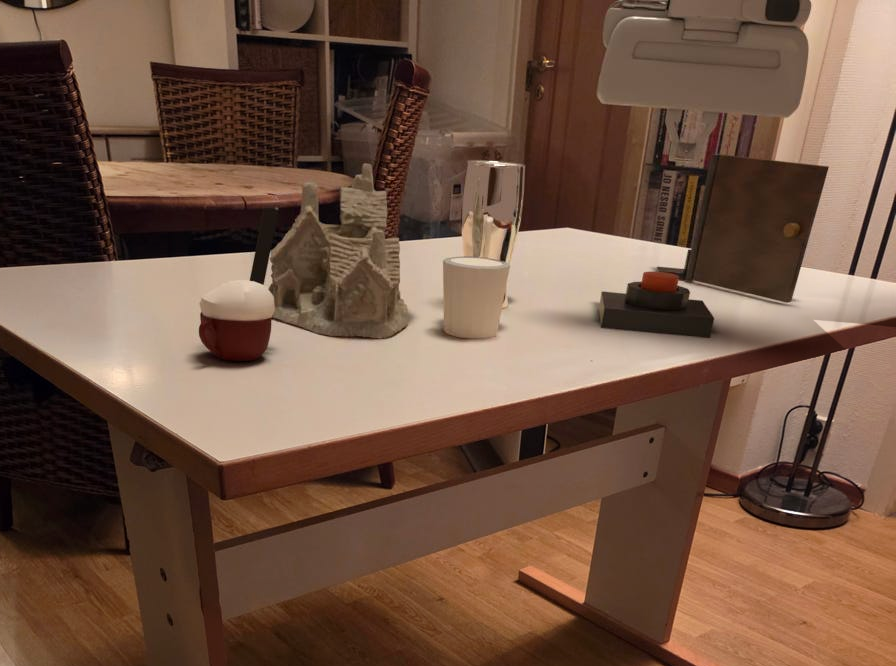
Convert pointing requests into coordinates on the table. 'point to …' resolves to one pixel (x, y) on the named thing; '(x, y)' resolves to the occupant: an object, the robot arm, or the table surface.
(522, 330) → the table surface
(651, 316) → the buzzer
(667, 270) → the gray angle bracket
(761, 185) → the door
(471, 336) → the white cup
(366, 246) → the ceramic cottage
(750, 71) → the robot arm
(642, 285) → the button
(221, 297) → the cocoa
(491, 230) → the beer glass
